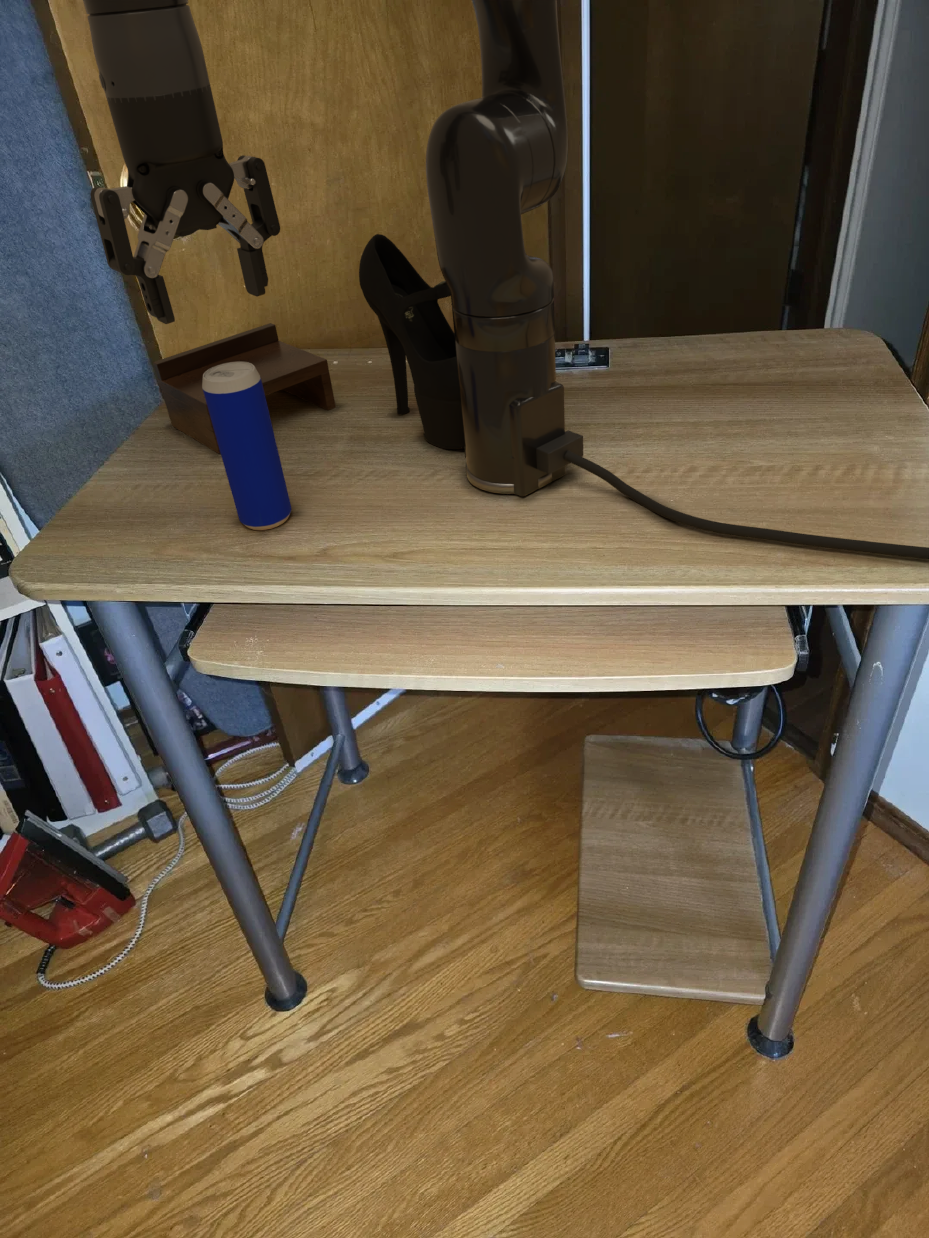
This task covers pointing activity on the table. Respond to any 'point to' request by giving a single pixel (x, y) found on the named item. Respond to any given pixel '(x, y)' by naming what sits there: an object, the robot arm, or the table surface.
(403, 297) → the high-heeled shoe
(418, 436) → the table surface
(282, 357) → the shelf
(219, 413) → the beverage can
